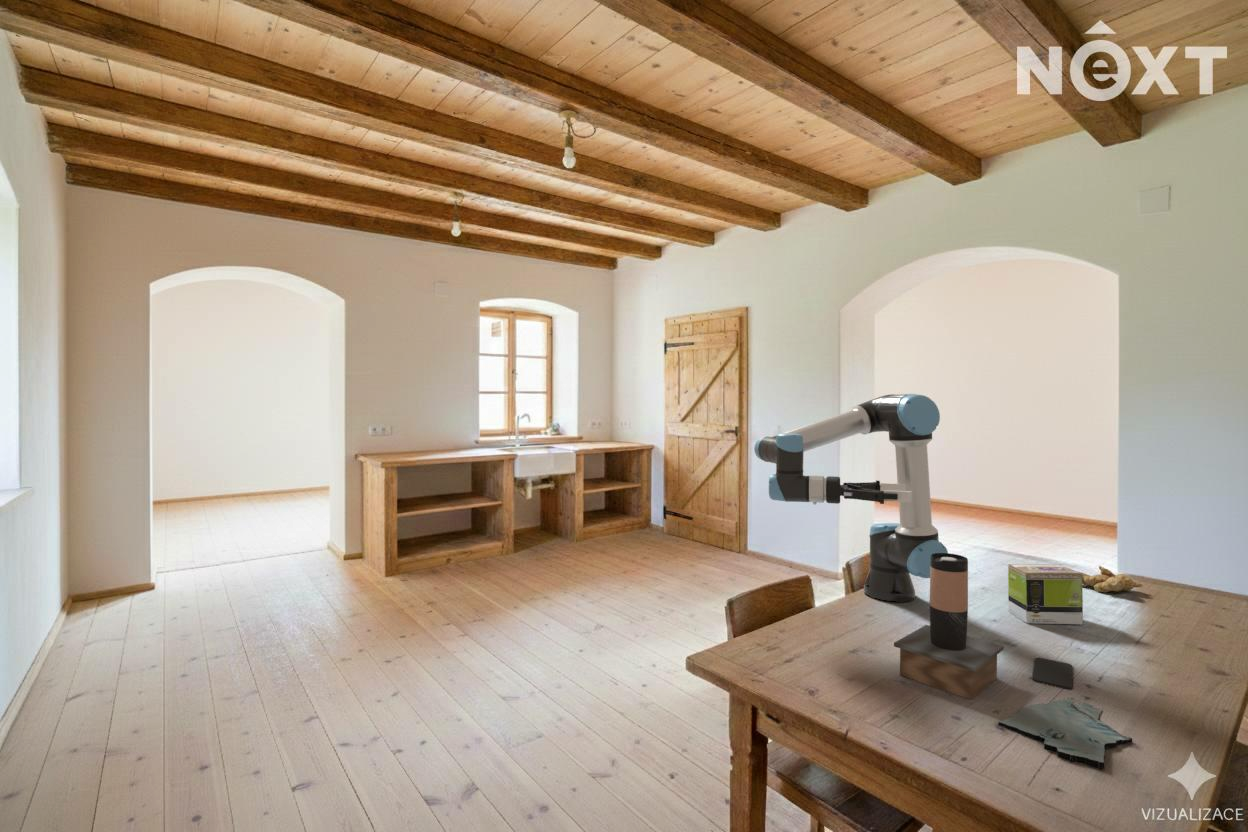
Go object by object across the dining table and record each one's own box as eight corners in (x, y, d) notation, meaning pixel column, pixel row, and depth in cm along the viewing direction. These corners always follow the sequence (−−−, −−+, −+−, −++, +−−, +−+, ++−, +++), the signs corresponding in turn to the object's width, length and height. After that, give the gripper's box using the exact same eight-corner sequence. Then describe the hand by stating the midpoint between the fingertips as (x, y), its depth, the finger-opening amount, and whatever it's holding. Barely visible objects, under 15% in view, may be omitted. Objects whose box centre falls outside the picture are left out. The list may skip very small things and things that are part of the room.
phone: (1073, 664, 143) (1073, 688, 130) (1072, 667, 143) (1073, 692, 130) (1035, 656, 147) (1031, 678, 135) (1035, 659, 147) (1031, 682, 135)
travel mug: (965, 640, 139) (966, 554, 138) (969, 653, 132) (970, 563, 131) (928, 635, 142) (929, 551, 142) (929, 647, 135) (930, 559, 135)
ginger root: (1156, 594, 190) (1149, 569, 190) (1106, 606, 190) (1100, 581, 191) (1116, 581, 206) (1110, 558, 206) (1071, 592, 206) (1065, 569, 206)
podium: (893, 674, 138) (893, 642, 138) (925, 654, 149) (926, 624, 149) (974, 703, 125) (974, 667, 125) (1003, 678, 136) (1003, 645, 136)
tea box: (1061, 613, 177) (1061, 563, 177) (1083, 626, 167) (1084, 573, 167) (1006, 611, 179) (1007, 562, 178) (1026, 624, 169) (1026, 572, 168)
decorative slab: (965, 696, 129) (965, 687, 129) (1082, 699, 128) (1082, 690, 128) (1043, 771, 103) (1044, 760, 103) (1191, 775, 102) (1192, 764, 102)
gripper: (826, 495, 181) (903, 499, 174) (824, 510, 158) (914, 515, 151) (826, 471, 181) (903, 473, 174) (824, 482, 158) (914, 485, 151)
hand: (908, 492), depth 163 cm, fingers open, 13 cm apart
